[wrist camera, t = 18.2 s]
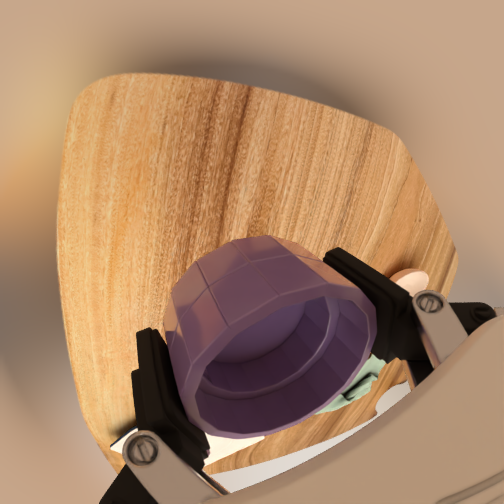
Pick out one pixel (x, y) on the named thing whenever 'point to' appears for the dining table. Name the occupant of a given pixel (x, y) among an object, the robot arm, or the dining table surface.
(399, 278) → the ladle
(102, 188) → the dining table surface
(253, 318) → the lavender bowl
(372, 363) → the cloth
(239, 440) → the plate
